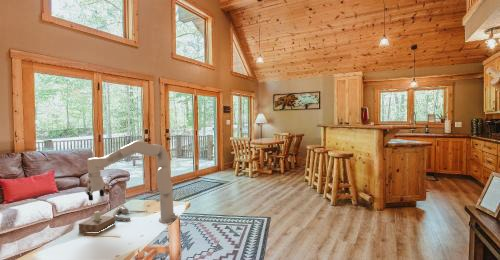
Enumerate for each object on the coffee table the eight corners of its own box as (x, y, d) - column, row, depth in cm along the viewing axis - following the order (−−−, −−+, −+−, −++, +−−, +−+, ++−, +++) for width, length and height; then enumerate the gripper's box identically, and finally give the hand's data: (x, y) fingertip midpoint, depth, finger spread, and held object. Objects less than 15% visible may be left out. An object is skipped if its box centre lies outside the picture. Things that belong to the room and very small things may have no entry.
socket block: (115, 224, 193) (114, 216, 193) (97, 233, 178) (97, 225, 178) (97, 223, 197) (97, 215, 197) (79, 232, 182) (78, 223, 182)
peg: (101, 227, 189) (100, 211, 189) (97, 229, 186) (96, 213, 185) (97, 227, 190) (96, 211, 190) (93, 229, 186) (92, 212, 186)
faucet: (151, 211, 227) (140, 223, 200) (119, 209, 226) (103, 222, 198) (152, 206, 227) (140, 217, 200) (119, 204, 225) (103, 215, 198)
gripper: (88, 177, 177) (90, 202, 178) (108, 172, 194) (110, 194, 194) (79, 177, 179) (82, 201, 180) (100, 172, 196) (101, 194, 196)
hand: (96, 198), depth 187 cm, fingers open, 9 cm apart
